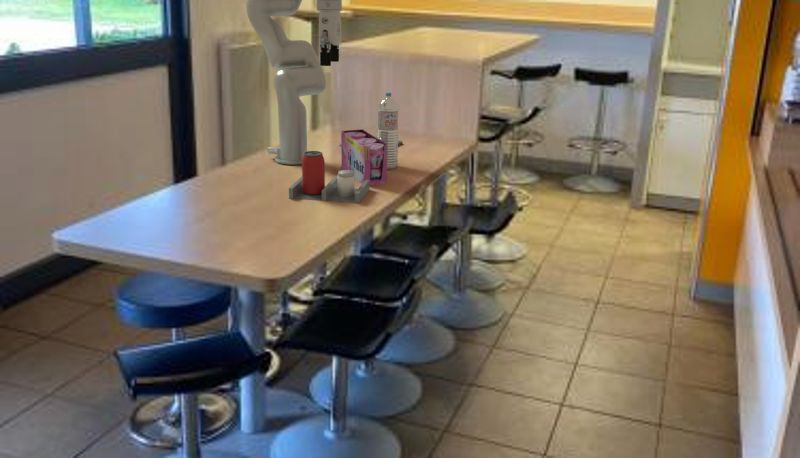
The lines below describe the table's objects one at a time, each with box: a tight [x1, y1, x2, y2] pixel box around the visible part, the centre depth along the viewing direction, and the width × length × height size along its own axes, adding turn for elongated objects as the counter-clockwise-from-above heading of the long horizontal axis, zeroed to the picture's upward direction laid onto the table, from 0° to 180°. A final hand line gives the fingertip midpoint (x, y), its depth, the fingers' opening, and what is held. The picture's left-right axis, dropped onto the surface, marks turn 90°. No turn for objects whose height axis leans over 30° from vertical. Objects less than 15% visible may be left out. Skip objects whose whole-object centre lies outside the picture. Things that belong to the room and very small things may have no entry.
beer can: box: [301, 150, 326, 195], centre depth 238 cm, size 7×7×12 cm
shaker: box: [336, 169, 356, 198], centre depth 237 cm, size 5×5×7 cm
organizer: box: [288, 176, 370, 204], centre depth 239 cm, size 21×14×4 cm
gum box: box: [340, 129, 388, 186], centre depth 257 cm, size 24×8×14 cm, turn 22°
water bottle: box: [377, 92, 400, 170], centre depth 269 cm, size 7×7×25 cm
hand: (329, 63), depth 247 cm, fingers open, 9 cm apart
